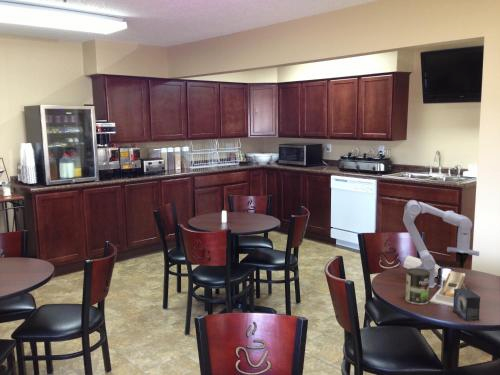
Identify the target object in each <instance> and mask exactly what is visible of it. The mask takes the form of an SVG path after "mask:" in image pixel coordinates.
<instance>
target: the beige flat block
mask: <svg viewBox="0 0 500 375" xmlns="http://www.w3.org/2000/svg"><path fill="white" fill-rule="evenodd" d="M437 292H438V291H437ZM437 292H436V293H437ZM436 293H435V294H436ZM436 300H441V301H445V302H450V303H454V295H452V297H449V296H445V293H442V291H441V290H440V291H439V292H438V293H437V294H436Z"/></svg>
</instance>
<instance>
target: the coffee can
mask: <svg viewBox="0 0 500 375" xmlns="http://www.w3.org/2000/svg"><path fill="white" fill-rule="evenodd" d="M405 278H406V280H405V299H404V300H405V301H406V302H407V303H409V304H413V305H419V306H421V305H427V304H428V303H429V290H430V288H429V278H430V272H429V271H427V270H424V269H419V268H410V269H407V268H406V276H405Z"/></svg>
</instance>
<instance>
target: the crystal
mask: <svg viewBox="0 0 500 375" xmlns="http://www.w3.org/2000/svg"><path fill="white" fill-rule="evenodd" d="M421 264H422V262H421V260H420V258H419V257H415V256H412V255H407V256H406V258H405V260H404V261H403V268H405V269H406V270H407V269H410V268H416V266H420V265H421ZM439 268H441V266H440V265H438V264H437V263H436V265H435V277H437V275H438V269H439ZM441 269H442V268H441Z"/></svg>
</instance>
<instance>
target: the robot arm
mask: <svg viewBox="0 0 500 375" xmlns="http://www.w3.org/2000/svg"><path fill="white" fill-rule="evenodd" d="M403 212H404V213H403V218H402V222H403V224H404V226H405V228H406V230H407V232H408V234H409V236H410V238H411V240H412V243H413V244H414V246H415V248H416V251H417V252H418V254H419V259H420V260H421V262H422V264H421V265H420V266H416V268H419V269H424V270H427V271H429V272H430V278H429V289H434V287H435V286H436V285H437V282H435V279H436V278H435V265H436V264H437V263H436V260H435V259H434V256H433V255H432V254H431V253H430V252H429V250H428V249H427V246H426V245H425V243H424V240H423V239H422V236H421V234H420V232H419V230H418V228H417V227H416V225H415V220H416V218H417V216H418V215H420V213H421V214H425V213H428V214H431V215H434V216H437V217H439V218H442V221H443V222H445V223H448V224H450V225H453V226H456V227H458V229H457V237H456V238H457V239H456V241H457V242H456V247H454V246H453V247H451V246H447V248H446V252H447V253H456V258H457V260H458V263H459V268H460V269H464V267H465V264H466V261H467V259H468V257H469V256H476V257H479V256H480V251H478V250H473V249H470V248H471V247H470V246H471V244H470V243H471V235H472V233H471V229H472V227H473V221H472V220H471V219H470V218H469V217H467V216H466V215H463V214H458V213H456V212H455V211H453V210H446V211H444V210H442V209H440V208H437V207H434V206H433V205H431V204H427V203H424V202H422V201H417V200H415V199H410V200H408V201H407V202H406V204H405V206H404V211H403Z"/></svg>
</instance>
